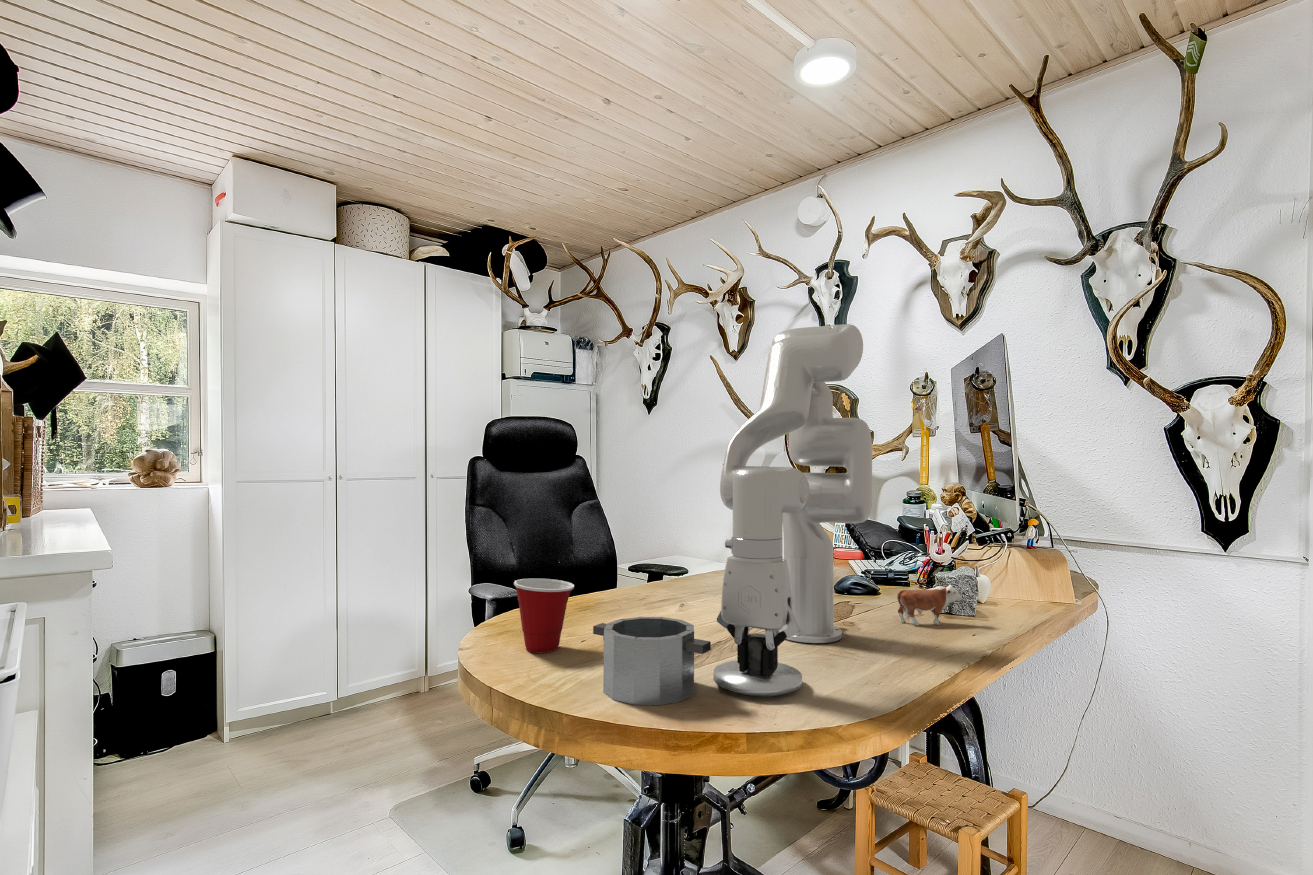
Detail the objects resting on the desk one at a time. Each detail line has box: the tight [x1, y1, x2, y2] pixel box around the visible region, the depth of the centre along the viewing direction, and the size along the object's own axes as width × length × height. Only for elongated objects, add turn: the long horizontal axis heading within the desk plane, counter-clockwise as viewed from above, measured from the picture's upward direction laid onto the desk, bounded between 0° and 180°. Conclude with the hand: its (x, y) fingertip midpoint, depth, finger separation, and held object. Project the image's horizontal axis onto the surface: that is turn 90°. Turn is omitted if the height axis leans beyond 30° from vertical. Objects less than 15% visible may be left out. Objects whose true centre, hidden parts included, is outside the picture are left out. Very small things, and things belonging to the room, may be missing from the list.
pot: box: [592, 616, 712, 706], centre depth 97 cm, size 13×19×9 cm
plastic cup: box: [513, 578, 575, 654], centre depth 117 cm, size 11×11×12 cm
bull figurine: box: [896, 584, 963, 627], centre depth 137 cm, size 4×13×8 cm, turn 91°
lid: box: [713, 632, 803, 698], centre depth 98 cm, size 13×13×8 cm
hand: (757, 670), depth 98 cm, fingers closed on lid, 3 cm apart
